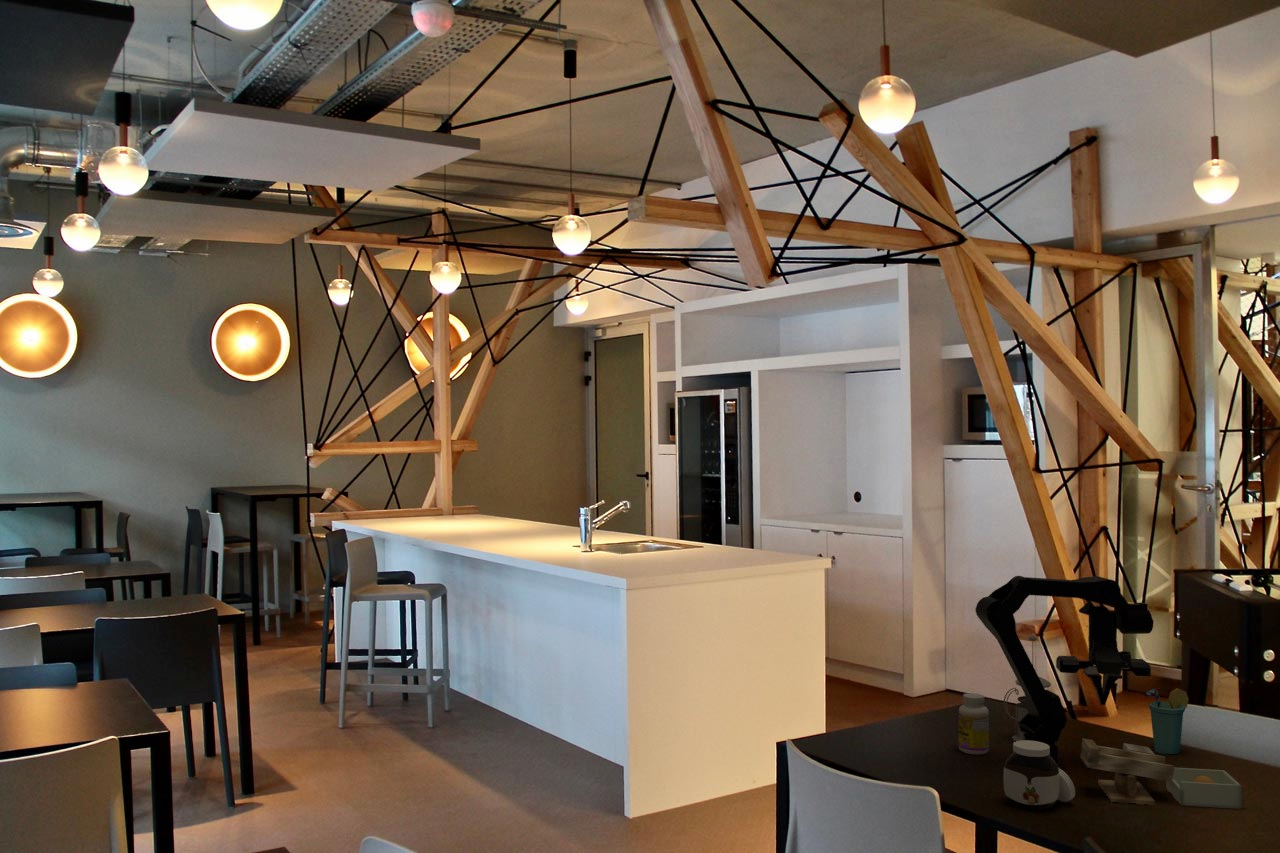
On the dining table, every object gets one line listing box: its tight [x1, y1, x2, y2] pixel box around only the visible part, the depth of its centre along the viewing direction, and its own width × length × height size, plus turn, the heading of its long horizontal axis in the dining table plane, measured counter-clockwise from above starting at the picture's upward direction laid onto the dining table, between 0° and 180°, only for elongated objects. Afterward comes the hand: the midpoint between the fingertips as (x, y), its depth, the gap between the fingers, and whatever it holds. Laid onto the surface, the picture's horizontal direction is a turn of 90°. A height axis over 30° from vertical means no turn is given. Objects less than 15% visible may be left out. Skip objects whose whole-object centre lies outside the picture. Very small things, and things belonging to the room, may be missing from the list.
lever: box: [1079, 738, 1175, 782], centre depth 225 cm, size 16×17×4 cm
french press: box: [1003, 635, 1052, 742], centre depth 259 cm, size 10×12×25 cm
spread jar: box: [1003, 740, 1076, 811], centre depth 215 cm, size 12×11×12 cm
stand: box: [1097, 772, 1156, 806], centre depth 220 cm, size 8×12×5 cm, turn 169°
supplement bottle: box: [958, 692, 990, 756], centre depth 250 cm, size 7×7×13 cm
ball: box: [1194, 776, 1214, 783], centre depth 217 cm, size 4×4×4 cm
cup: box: [1144, 688, 1190, 755], centre depth 250 cm, size 14×8×15 cm, turn 122°
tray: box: [1165, 767, 1243, 810], centre depth 218 cm, size 11×10×4 cm
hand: (1102, 704), depth 241 cm, fingers closed
